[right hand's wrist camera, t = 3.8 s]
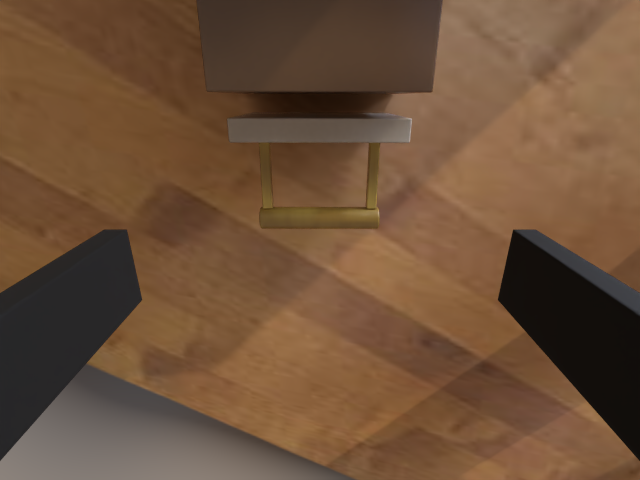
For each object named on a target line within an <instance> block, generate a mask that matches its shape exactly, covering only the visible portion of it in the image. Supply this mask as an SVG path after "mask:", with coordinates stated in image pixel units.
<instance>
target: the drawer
mask: <svg viewBox="0 0 640 480" xmlns="http://www.w3.org/2000/svg"><path fill="white" fill-rule="evenodd" d="M227 124H228V135H229V142H231V143H259V152H260V169H261V185H262V201H263V207H261V208H260V214H259V220H260V227H261V228H268V229H377V228H378V226H379V209H378V207H376V200H377V185H378V169H379V153H380V143H409V142H410V134H411V124H412V119H411V118H407V117H403V116H398V115H394V114H390V113H248V114H244V115H239V116H235V117H230V118H227ZM270 143H369V152H368V171H367V190H366V207H273V190H272V170H271V149H270Z"/></svg>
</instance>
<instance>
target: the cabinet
mask: <svg viewBox="0 0 640 480" xmlns="http://www.w3.org/2000/svg"><path fill="white" fill-rule="evenodd" d="M442 1H443V0H197V9H198V18H199V27H200V36H201V45H202V55H203V64H204V73H205V82H206V90H207V92H223V93H242V94H405V93H425V92H432V91H433V82H434V73H435V64H436V55H437V46H438V37H439V28H440V19H441V10H442Z"/></svg>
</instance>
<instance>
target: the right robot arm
mask: <svg viewBox="0 0 640 480" xmlns="http://www.w3.org/2000/svg"><path fill="white" fill-rule="evenodd" d="M141 301H142V297H141V292H140V288H139V283H138V279H137V274H136V270H135V265H134V260H133V256H132V251H131V247H130V242H129V238H128V233H127V230H103V231H101V232H100V233H98V234H96V235H95V236H93V237H91V238H90V239H88V240H87V241H85V242H83V243H82V244H80V245H78V246H77V247H75V248H73V249H72V250H70V251H69V252H67V253H65V254H64V255H62V256H60V257H59V258H57V259H55V260H54V261H52V262H50V263H49V264H47V265H46V266H44V267H42V268H41V269H39V270H37V271H36V272H34V273H32V274H31V275H29V276H28V277H26V278H24V279H23V280H21V281H19V282H18V283H16V284H14V285H13V286H11V287H9V288H8V289H6V290H5V291H3V292H1V293H0V460H1V459H2V458H3V457H4V456H5V455H6V454H7V452H8V451H9V450H10V449H11V448H12V447H13V446H14V445H15V443H16V442H17V441H18V440H19V439H20V438H21V437H22V436H23V434H24V433H25V432H26V431H27V430H28V429H29V428H30V426H31V425H32V424H33V423H34V422H35V421H36V420H37V418H38V417H39V416H40V415H41V414H42V413H43V412H44V411H45V409H46V408H47V407H48V406H49V405H50V404H51V403H52V401H53V400H54V399H55V398H56V397H57V396H58V395H59V394H60V392H61V391H62V390H63V389H64V388H65V387H66V386H67V384H68V383H69V382H70V381H71V380H72V379H73V378H74V376H75V375H76V374H77V373H78V372H79V371H80V370H81V369H82V367H83V366H84V365H85V364H86V363H87V362H88V361H89V360H90V358H91V357H92V356H93V355H94V354H95V353H96V352H97V350H98V349H99V348H100V347H101V346H102V345H103V344H104V343H105V341H106V340H107V339H108V338H109V337H110V336H111V335H112V333H113V332H114V331H115V330H116V329H117V328H118V327H119V325H120V324H121V323H122V322H123V321H124V320H125V319H126V318H127V316H128V315H129V314H130V313H131V312H132V311H133V310H134V308H135V307H136V306H137V305H138V304H139V303H140V302H141ZM498 301H499V302H500V303H501V304H502V305H503V306H504V307H505V308H506V310H507V311H508V312H509V313H510V314H511V315H512V316H513V318H514V319H515V320H516V321H517V322H518V323H519V324H520V325H521V327H522V328H523V329H524V330H525V331H526V332H527V333H528V335H529V336H530V337H531V338H532V339H533V340H534V341H535V343H536V344H537V345H538V346H539V347H540V348H541V349H542V350H543V352H544V353H545V354H546V355H547V356H548V357H549V358H550V360H551V361H552V362H553V363H554V364H555V365H556V366H557V367H558V369H559V370H560V371H561V372H562V373H563V374H564V375H565V377H566V378H567V379H568V380H569V381H570V382H571V383H572V384H573V386H574V387H575V388H576V389H577V390H578V391H579V392H580V394H581V395H582V396H583V397H584V398H585V399H586V400H587V401H588V403H589V404H590V405H591V406H592V407H593V408H594V409H595V411H596V412H597V413H598V414H599V415H600V416H601V417H602V418H603V420H604V421H605V422H606V423H607V424H608V425H609V426H610V428H611V429H612V430H613V431H614V432H615V433H616V434H617V436H618V437H619V438H620V439H621V440H622V441H623V442H624V443H625V445H626V446H627V447H628V448H629V449H630V450H631V451H632V453H633V454H634V455H635V456H636V457H637V458H638V459H639V460H640V293H639V292H637V291H635V290H634V289H632V288H631V287H629V286H627V285H626V284H624V283H622V282H621V281H619V280H617V279H616V278H614V277H612V276H611V275H609V274H608V273H606V272H604V271H603V270H601V269H599V268H598V267H596V266H594V265H593V264H591V263H590V262H588V261H586V260H585V259H583V258H581V257H580V256H578V255H576V254H575V253H573V252H571V251H570V250H568V249H567V248H565V247H563V246H562V245H560V244H558V243H557V242H555V241H553V240H552V239H550V238H549V237H547V236H545V235H544V234H542V233H540V232H539V231H537V230H513V233H512V238H511V242H510V247H509V251H508V256H507V260H506V265H505V270H504V274H503V279H502V283H501V288H500V292H499V297H498Z"/></svg>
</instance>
